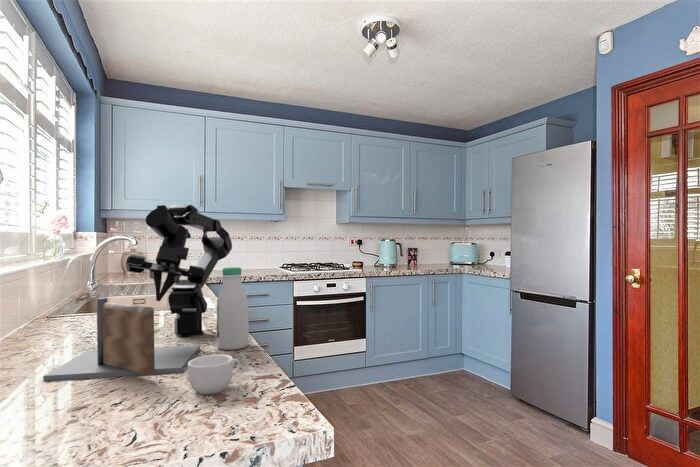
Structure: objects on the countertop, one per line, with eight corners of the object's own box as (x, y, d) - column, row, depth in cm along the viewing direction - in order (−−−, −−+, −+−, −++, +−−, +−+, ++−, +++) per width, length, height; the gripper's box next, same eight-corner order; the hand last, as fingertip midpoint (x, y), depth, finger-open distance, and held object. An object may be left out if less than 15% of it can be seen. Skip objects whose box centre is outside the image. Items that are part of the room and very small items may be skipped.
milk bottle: (255, 344, 107) (253, 266, 107) (234, 352, 100) (233, 269, 100) (231, 341, 111) (230, 266, 111) (210, 349, 104) (209, 268, 104)
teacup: (201, 402, 70) (201, 370, 70) (180, 391, 75) (179, 361, 75) (251, 385, 78) (251, 356, 78) (229, 376, 83) (228, 349, 83)
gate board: (200, 349, 104) (199, 345, 104) (181, 372, 86) (181, 367, 86) (87, 355, 100) (87, 351, 100) (43, 380, 82) (43, 375, 82)
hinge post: (107, 361, 91) (106, 297, 91) (109, 364, 89) (108, 298, 89) (96, 363, 89) (96, 298, 89) (98, 365, 88) (97, 299, 88)
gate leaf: (103, 363, 88) (102, 302, 88) (110, 361, 89) (109, 301, 89) (147, 374, 80) (146, 307, 80) (154, 371, 82) (153, 306, 82)
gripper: (134, 224, 103) (114, 283, 95) (211, 240, 109) (199, 297, 101) (136, 243, 112) (118, 298, 105) (207, 257, 118) (195, 310, 110)
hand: (157, 300), depth 105 cm, fingers closed
